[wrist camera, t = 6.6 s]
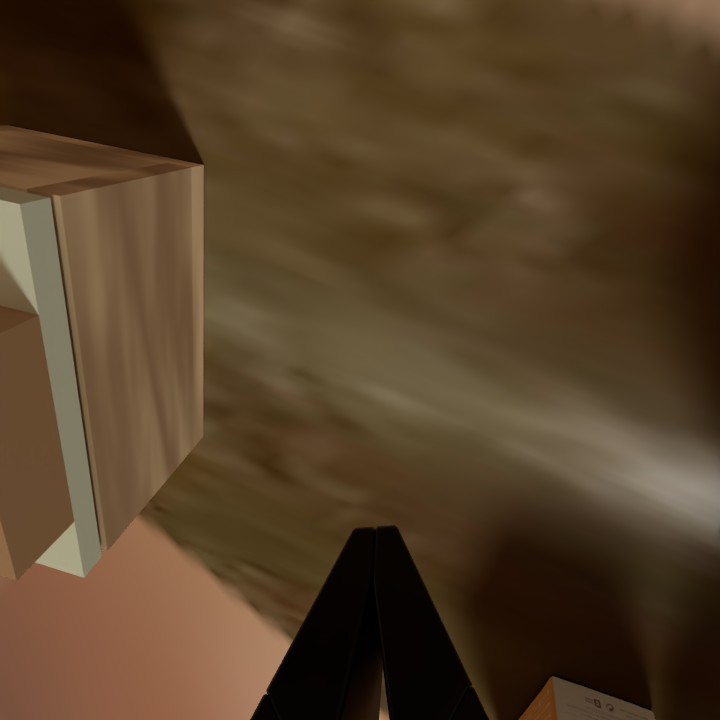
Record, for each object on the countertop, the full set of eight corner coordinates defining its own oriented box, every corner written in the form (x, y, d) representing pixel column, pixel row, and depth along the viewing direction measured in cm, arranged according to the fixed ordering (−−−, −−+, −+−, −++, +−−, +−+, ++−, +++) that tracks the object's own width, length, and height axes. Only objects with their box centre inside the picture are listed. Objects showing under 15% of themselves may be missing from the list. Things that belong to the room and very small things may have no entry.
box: (203, 164, 20) (60, 196, 13) (203, 436, 27) (107, 551, 20) (8, 125, 21) (-221, 135, 14) (54, 396, 28) (-86, 492, 21)
